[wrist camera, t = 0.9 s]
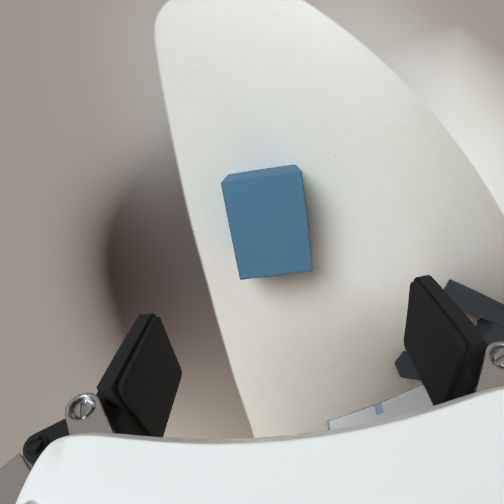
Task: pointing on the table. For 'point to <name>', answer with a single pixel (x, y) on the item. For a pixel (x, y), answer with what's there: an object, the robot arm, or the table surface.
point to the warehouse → (386, 409)
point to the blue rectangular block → (268, 221)
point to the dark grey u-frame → (490, 311)
